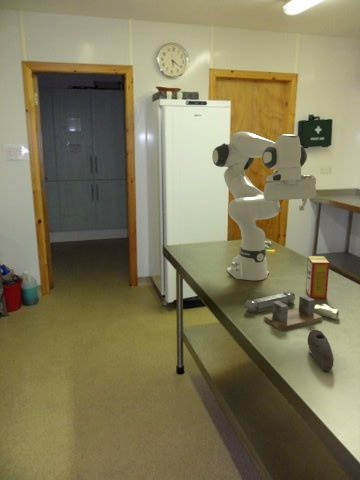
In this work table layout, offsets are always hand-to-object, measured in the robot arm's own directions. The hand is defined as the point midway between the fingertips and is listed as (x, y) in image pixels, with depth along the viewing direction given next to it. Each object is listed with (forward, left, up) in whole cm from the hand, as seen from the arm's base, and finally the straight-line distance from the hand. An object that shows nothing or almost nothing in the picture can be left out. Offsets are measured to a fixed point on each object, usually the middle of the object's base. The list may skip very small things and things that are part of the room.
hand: (290, 211), depth 149 cm
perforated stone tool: (+44, -23, -37) cm, 62 cm away
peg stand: (+19, -12, -36) cm, 43 cm away
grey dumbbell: (+6, -12, -36) cm, 39 cm away
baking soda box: (+4, +13, -37) cm, 39 cm away
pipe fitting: (+21, +2, -37) cm, 42 cm away
